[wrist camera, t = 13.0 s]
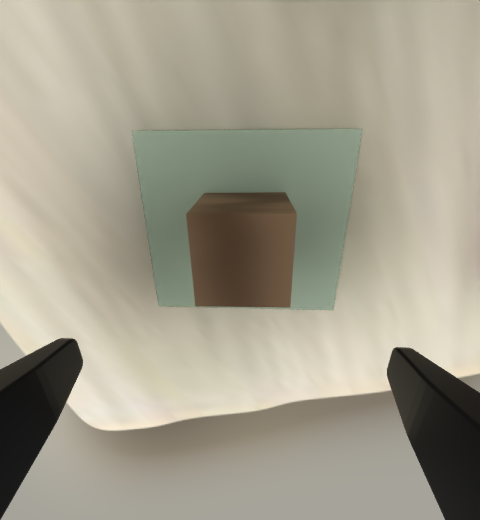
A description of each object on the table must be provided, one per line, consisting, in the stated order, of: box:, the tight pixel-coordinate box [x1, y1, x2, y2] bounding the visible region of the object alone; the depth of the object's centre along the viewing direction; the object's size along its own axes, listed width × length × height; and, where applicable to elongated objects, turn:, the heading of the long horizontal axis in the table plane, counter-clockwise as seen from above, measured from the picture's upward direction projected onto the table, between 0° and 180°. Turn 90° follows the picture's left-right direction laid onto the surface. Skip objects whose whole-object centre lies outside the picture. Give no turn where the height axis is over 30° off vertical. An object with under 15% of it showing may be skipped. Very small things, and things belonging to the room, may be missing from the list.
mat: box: [132, 129, 362, 310], centre depth 18 cm, size 13×12×1 cm
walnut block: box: [186, 192, 297, 308], centre depth 16 cm, size 5×5×5 cm
